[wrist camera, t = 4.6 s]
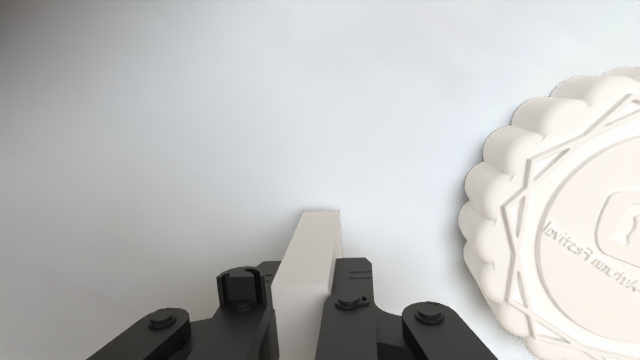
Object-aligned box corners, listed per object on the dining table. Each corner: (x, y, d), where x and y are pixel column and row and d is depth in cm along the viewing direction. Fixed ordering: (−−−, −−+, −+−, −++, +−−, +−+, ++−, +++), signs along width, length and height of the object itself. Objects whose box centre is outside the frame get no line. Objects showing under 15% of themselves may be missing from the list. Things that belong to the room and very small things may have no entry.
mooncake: (828, 176, 17) (951, 200, 13) (615, 385, 20) (670, 450, 16) (584, 5, 16) (646, -15, 13) (401, 247, 19) (410, 284, 16)
